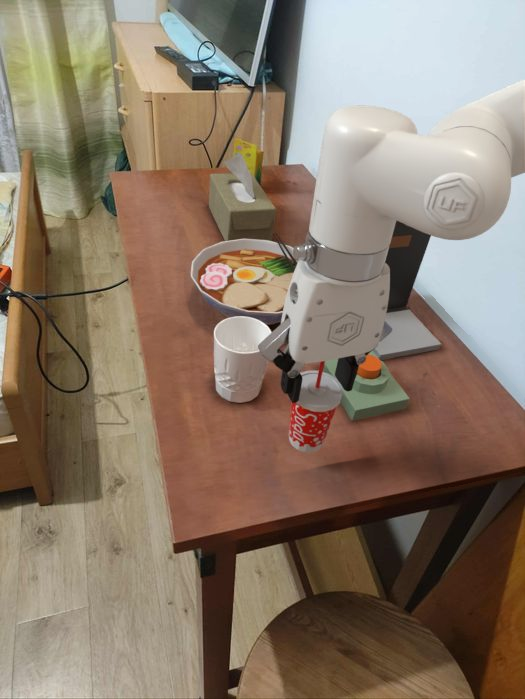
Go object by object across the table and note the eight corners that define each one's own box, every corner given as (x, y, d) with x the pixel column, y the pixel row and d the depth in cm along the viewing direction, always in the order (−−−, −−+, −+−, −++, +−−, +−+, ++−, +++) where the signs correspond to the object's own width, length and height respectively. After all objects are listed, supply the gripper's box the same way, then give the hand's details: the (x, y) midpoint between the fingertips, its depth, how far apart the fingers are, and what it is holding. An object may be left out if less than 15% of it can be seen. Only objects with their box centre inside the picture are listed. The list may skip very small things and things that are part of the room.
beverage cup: (273, 432, 65) (285, 349, 56) (308, 413, 68) (325, 331, 59) (303, 465, 62) (322, 382, 53) (340, 443, 65) (363, 361, 56)
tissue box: (208, 206, 118) (210, 137, 108) (248, 205, 121) (254, 137, 111) (227, 247, 105) (232, 172, 95) (272, 245, 108) (282, 171, 97)
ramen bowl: (180, 272, 96) (180, 233, 91) (294, 266, 102) (301, 229, 97) (202, 360, 78) (203, 318, 73) (339, 347, 84) (350, 307, 79)
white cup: (275, 394, 74) (284, 341, 68) (229, 414, 70) (233, 360, 64) (245, 362, 79) (251, 310, 72) (201, 379, 75) (203, 325, 69)
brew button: (383, 377, 74) (386, 368, 73) (361, 381, 73) (364, 372, 72) (371, 361, 77) (374, 352, 75) (350, 365, 75) (352, 356, 74)
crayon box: (260, 190, 128) (265, 143, 120) (253, 194, 126) (257, 146, 119) (238, 181, 131) (241, 134, 124) (230, 184, 129) (233, 137, 122)
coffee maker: (439, 349, 86) (490, 232, 72) (378, 360, 82) (419, 239, 68) (387, 293, 98) (422, 182, 84) (332, 300, 94) (359, 186, 80)
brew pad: (405, 409, 75) (413, 389, 72) (351, 421, 72) (358, 401, 69) (369, 360, 82) (375, 341, 80) (319, 369, 79) (323, 349, 77)
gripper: (274, 285, 42) (258, 428, 54) (445, 262, 48) (397, 396, 59) (245, 242, 48) (236, 380, 59) (402, 225, 53) (365, 355, 65)
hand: (317, 387), depth 59 cm, fingers closed on beverage cup, 6 cm apart
